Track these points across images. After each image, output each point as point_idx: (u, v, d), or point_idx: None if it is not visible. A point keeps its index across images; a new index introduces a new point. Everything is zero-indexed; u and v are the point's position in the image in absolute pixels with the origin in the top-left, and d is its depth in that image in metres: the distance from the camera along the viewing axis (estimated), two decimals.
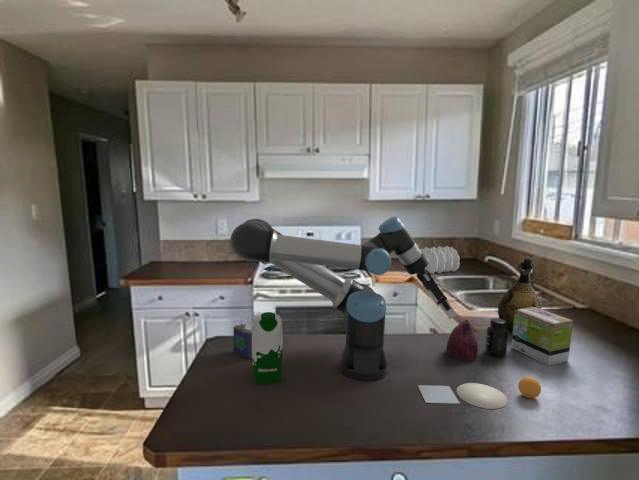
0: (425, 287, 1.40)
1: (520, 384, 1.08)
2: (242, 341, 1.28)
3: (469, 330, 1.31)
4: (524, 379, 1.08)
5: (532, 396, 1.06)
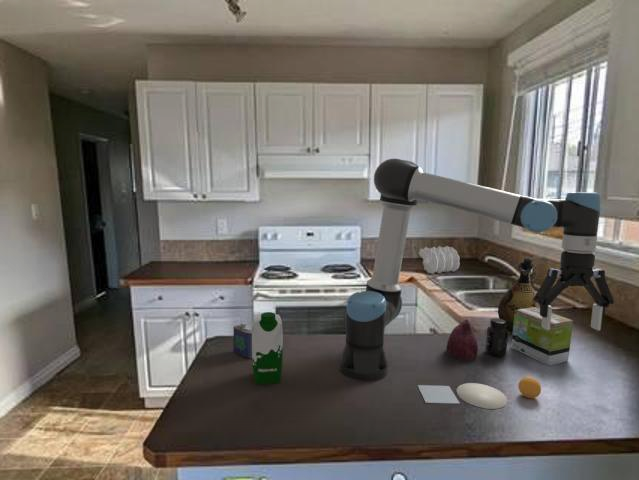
0: None
1: (520, 384, 1.08)
2: (242, 341, 1.28)
3: (469, 330, 1.31)
4: (524, 379, 1.08)
5: (532, 396, 1.06)
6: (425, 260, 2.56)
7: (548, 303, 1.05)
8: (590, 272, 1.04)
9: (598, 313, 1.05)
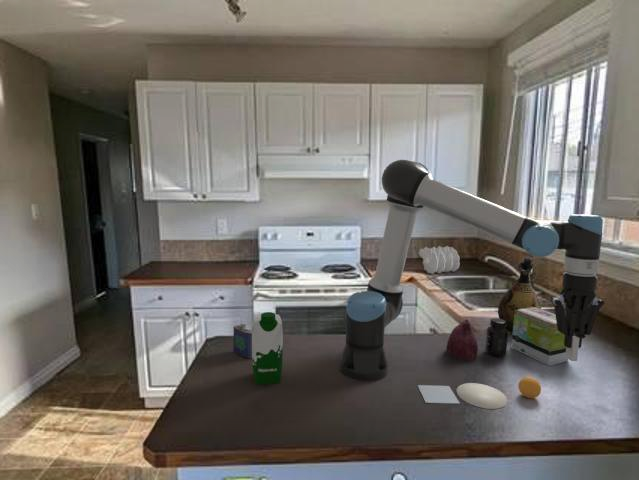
0: None
1: (520, 384, 1.08)
2: (242, 341, 1.28)
3: (469, 330, 1.31)
4: (524, 379, 1.08)
5: (532, 396, 1.06)
6: (425, 260, 2.56)
7: (572, 333, 1.05)
8: (593, 295, 1.04)
9: (575, 344, 1.05)
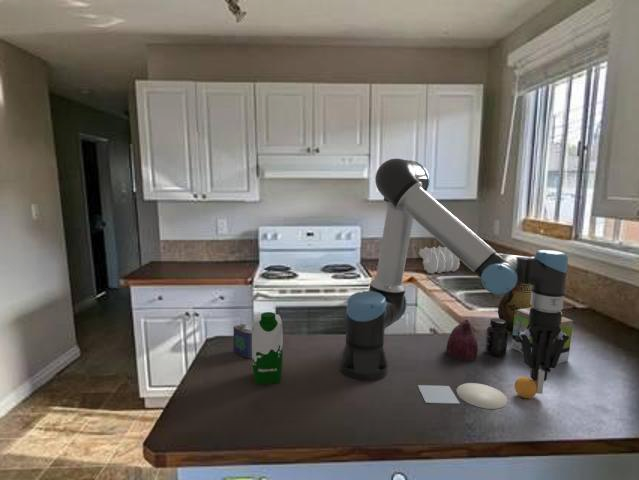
0: None
1: (515, 386, 1.08)
2: (242, 341, 1.28)
3: (469, 330, 1.31)
4: (518, 380, 1.08)
5: (529, 396, 1.06)
6: (425, 260, 2.56)
7: (538, 367, 1.07)
8: (558, 330, 1.05)
9: (540, 377, 1.07)
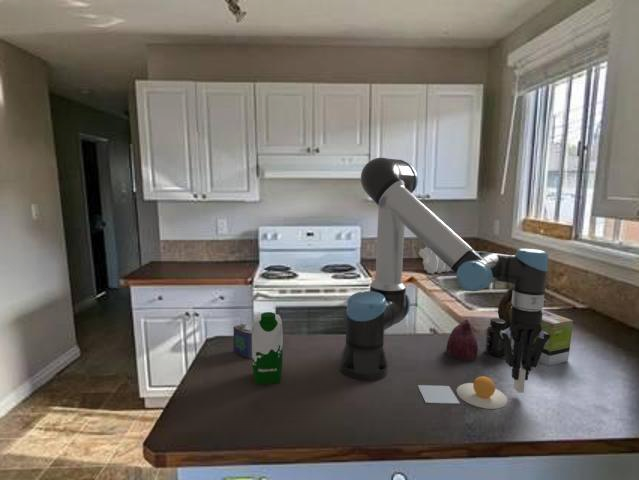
0: None
1: (492, 382, 1.08)
2: (242, 341, 1.28)
3: (469, 330, 1.31)
4: None
5: (485, 387, 1.06)
6: (425, 260, 2.56)
7: (519, 366, 1.06)
8: (539, 329, 1.05)
9: (521, 376, 1.07)
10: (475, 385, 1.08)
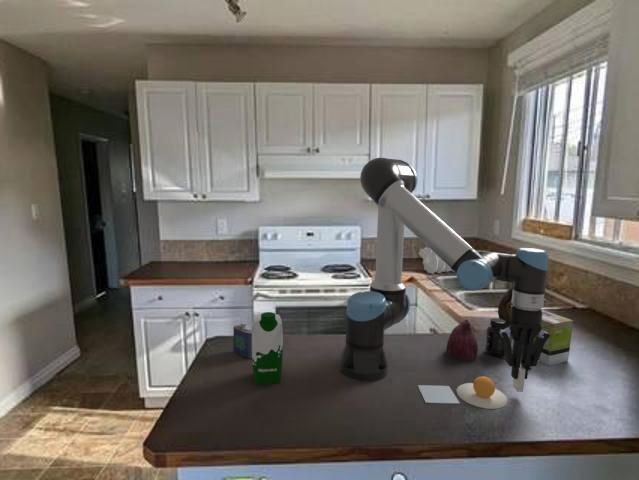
0: None
1: (492, 382, 1.08)
2: (242, 341, 1.28)
3: (469, 330, 1.31)
4: None
5: (485, 387, 1.06)
6: (425, 260, 2.56)
7: (518, 365, 1.06)
8: (539, 328, 1.05)
9: (521, 375, 1.07)
10: (475, 385, 1.08)
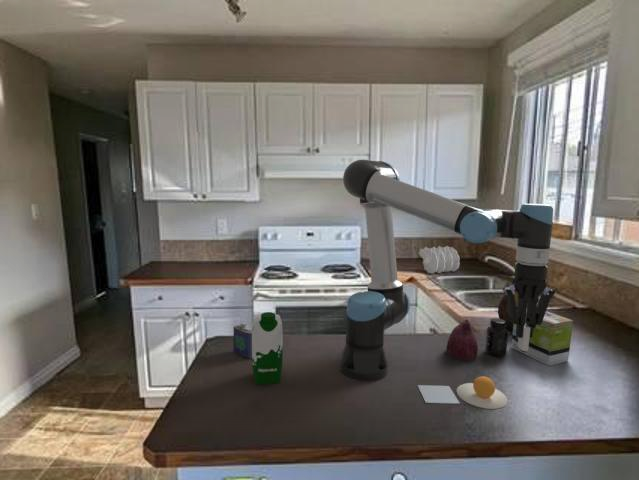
0: None
1: (492, 382, 1.08)
2: (242, 341, 1.28)
3: (469, 330, 1.31)
4: None
5: (485, 387, 1.06)
6: (425, 260, 2.56)
7: (523, 323, 1.05)
8: (543, 285, 1.03)
9: (526, 333, 1.05)
10: (475, 385, 1.08)
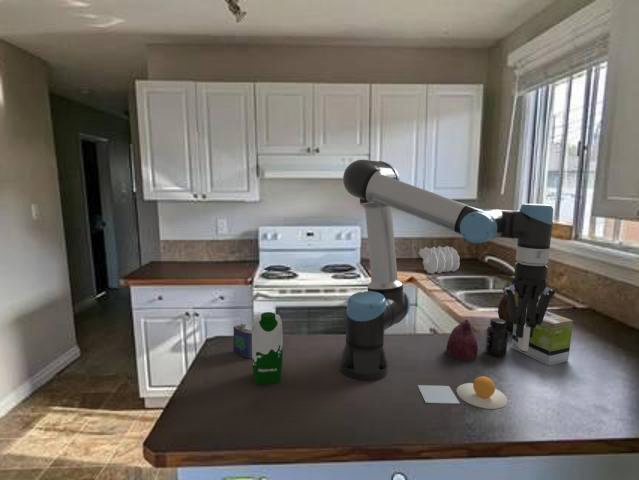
0: None
1: (492, 382, 1.08)
2: (242, 341, 1.28)
3: (469, 330, 1.31)
4: None
5: (485, 387, 1.06)
6: (425, 260, 2.56)
7: (523, 323, 1.05)
8: (543, 285, 1.03)
9: (526, 333, 1.05)
10: (475, 385, 1.08)
